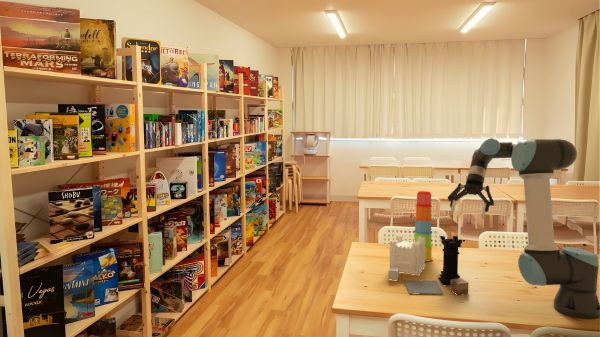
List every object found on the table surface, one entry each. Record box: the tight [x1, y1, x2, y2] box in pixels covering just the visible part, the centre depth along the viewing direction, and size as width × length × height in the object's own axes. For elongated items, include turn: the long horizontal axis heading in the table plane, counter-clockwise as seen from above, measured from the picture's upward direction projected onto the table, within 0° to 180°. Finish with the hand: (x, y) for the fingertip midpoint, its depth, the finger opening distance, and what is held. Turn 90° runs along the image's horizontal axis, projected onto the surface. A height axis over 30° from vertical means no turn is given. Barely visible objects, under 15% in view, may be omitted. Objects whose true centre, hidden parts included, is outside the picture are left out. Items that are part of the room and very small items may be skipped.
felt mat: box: [403, 279, 445, 295], centre depth 190 cm, size 14×14×1 cm
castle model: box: [389, 233, 426, 276], centre depth 212 cm, size 14×14×15 cm
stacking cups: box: [413, 190, 434, 262], centre depth 224 cm, size 10×10×35 cm
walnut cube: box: [449, 277, 469, 296], centre depth 184 cm, size 5×5×5 cm
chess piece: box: [437, 235, 463, 286], centre depth 194 cm, size 8×8×20 cm
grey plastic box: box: [388, 265, 400, 281], centre depth 200 cm, size 6×4×5 cm, turn 160°
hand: (466, 215), depth 200 cm, fingers open, 13 cm apart
